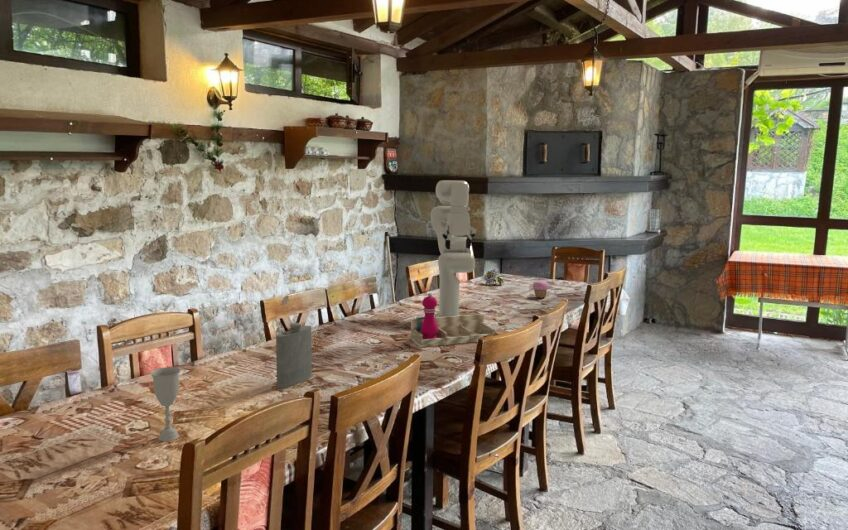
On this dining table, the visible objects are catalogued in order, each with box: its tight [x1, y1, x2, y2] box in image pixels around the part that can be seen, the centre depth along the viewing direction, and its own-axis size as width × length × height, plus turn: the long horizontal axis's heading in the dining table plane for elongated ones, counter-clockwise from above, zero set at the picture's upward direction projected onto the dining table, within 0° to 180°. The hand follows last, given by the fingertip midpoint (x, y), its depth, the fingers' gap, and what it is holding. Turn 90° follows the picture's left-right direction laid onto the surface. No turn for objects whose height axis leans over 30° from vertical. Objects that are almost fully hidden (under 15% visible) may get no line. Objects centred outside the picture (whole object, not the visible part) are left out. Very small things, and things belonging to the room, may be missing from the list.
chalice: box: [150, 366, 181, 442], centre depth 166 cm, size 7×7×18 cm
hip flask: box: [275, 322, 313, 390], centre depth 210 cm, size 16×4×20 cm, turn 151°
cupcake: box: [532, 279, 550, 299], centre depth 357 cm, size 9×9×10 cm
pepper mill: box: [421, 292, 438, 339], centre depth 261 cm, size 7×7×20 cm
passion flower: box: [481, 268, 505, 286], centre depth 395 cm, size 11×11×12 cm
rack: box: [410, 313, 496, 348], centre depth 265 cm, size 33×12×9 cm, turn 111°
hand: (458, 248), depth 279 cm, fingers open, 9 cm apart
